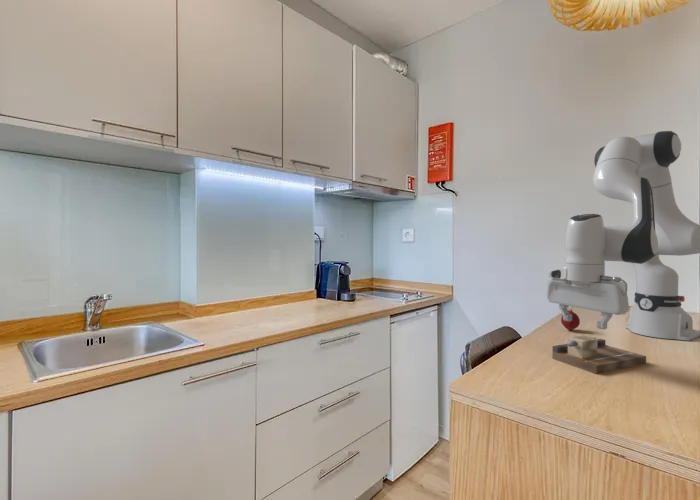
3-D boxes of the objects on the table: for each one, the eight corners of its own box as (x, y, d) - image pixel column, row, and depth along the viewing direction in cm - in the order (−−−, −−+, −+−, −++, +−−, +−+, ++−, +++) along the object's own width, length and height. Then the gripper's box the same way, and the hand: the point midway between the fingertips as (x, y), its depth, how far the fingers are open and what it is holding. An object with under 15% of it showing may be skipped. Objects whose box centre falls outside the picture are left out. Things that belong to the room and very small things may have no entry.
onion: (582, 333, 123) (582, 311, 123) (564, 332, 124) (565, 310, 124) (575, 329, 129) (575, 307, 128) (558, 328, 130) (558, 307, 130)
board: (600, 350, 104) (600, 338, 104) (646, 363, 93) (646, 350, 93) (552, 358, 97) (552, 346, 97) (596, 373, 86) (596, 360, 86)
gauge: (587, 350, 98) (587, 334, 97) (602, 354, 94) (602, 338, 94) (562, 354, 94) (562, 338, 94) (576, 359, 90) (577, 342, 90)
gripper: (635, 277, 85) (634, 332, 85) (558, 270, 104) (558, 315, 104) (618, 278, 82) (617, 335, 83) (543, 271, 102) (542, 317, 102)
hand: (583, 324), depth 94 cm, fingers open, 8 cm apart
